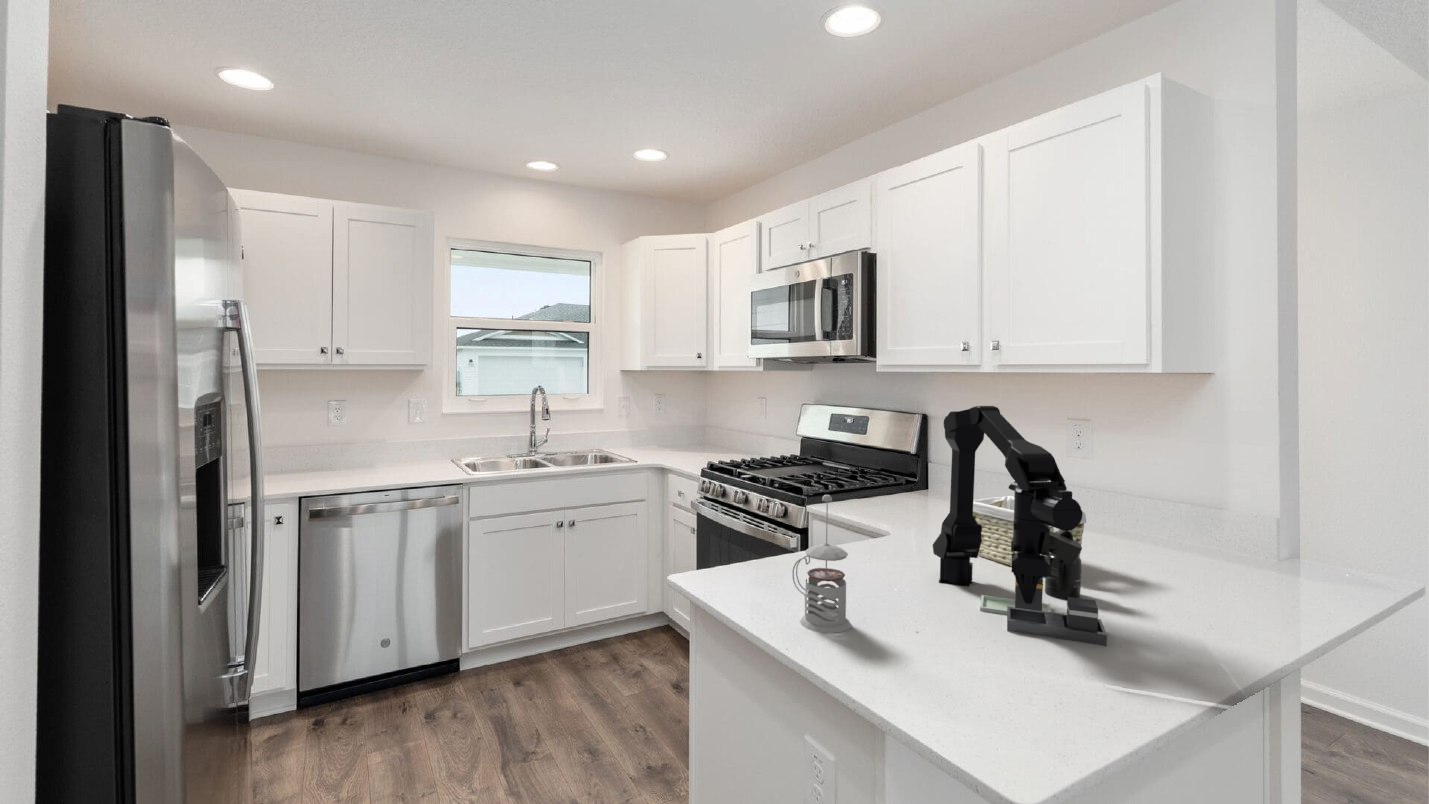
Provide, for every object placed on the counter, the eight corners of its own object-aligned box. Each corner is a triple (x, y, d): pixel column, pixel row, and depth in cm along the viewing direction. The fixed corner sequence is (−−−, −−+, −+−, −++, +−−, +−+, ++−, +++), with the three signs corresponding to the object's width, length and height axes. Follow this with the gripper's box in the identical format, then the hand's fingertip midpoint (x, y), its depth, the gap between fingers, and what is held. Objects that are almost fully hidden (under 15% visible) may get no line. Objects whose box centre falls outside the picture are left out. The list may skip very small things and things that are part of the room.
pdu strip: (1007, 633, 122) (1007, 620, 122) (1006, 618, 129) (1007, 606, 129) (1106, 648, 115) (1106, 635, 115) (1100, 632, 123) (1100, 619, 122)
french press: (840, 637, 120) (842, 501, 118) (782, 623, 126) (784, 495, 125) (858, 619, 128) (860, 493, 127) (803, 608, 134) (805, 487, 133)
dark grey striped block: (1042, 611, 121) (1043, 579, 120) (1014, 607, 123) (1015, 576, 122) (1041, 603, 125) (1042, 572, 125) (1014, 599, 127) (1015, 569, 127)
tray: (979, 613, 132) (980, 607, 132) (981, 600, 139) (981, 594, 139) (1052, 623, 127) (1052, 617, 127) (1049, 609, 134) (1049, 604, 134)
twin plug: (1068, 636, 119) (1069, 604, 119) (1066, 627, 123) (1067, 596, 123) (1097, 641, 117) (1098, 608, 117) (1094, 631, 122) (1095, 600, 121)
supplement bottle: (1085, 603, 138) (1087, 547, 137) (1050, 600, 139) (1051, 545, 139) (1074, 592, 145) (1076, 539, 144) (1040, 590, 146) (1042, 537, 145)
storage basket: (963, 553, 176) (965, 498, 175) (1007, 546, 183) (1008, 494, 182) (1041, 579, 154) (1043, 517, 153) (1087, 570, 161) (1089, 511, 160)
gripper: (1084, 533, 111) (1081, 623, 112) (1074, 511, 128) (1071, 590, 129) (1013, 526, 116) (1010, 613, 117) (1012, 506, 133) (1009, 582, 134)
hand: (1027, 599), depth 124 cm, fingers closed on dark grey striped block, 4 cm apart
